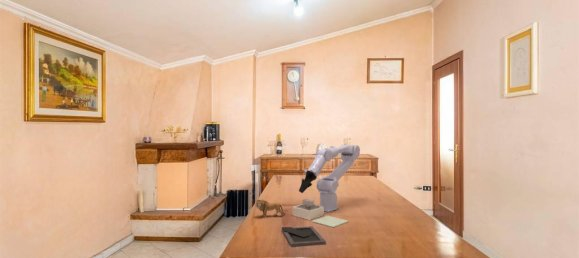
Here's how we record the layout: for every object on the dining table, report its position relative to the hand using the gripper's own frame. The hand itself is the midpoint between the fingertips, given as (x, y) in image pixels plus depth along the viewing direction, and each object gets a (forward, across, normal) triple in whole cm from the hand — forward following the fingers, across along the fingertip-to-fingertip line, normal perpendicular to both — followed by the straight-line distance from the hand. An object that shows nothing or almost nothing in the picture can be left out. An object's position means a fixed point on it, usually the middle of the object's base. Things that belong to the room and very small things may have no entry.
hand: (302, 189), depth 153 cm
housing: (+6, -9, +9) cm, 14 cm away
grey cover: (+4, -8, +8) cm, 12 cm away
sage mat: (+6, +1, +19) cm, 20 cm away
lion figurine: (+17, -11, -6) cm, 21 cm away
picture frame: (+25, +15, +11) cm, 31 cm away
